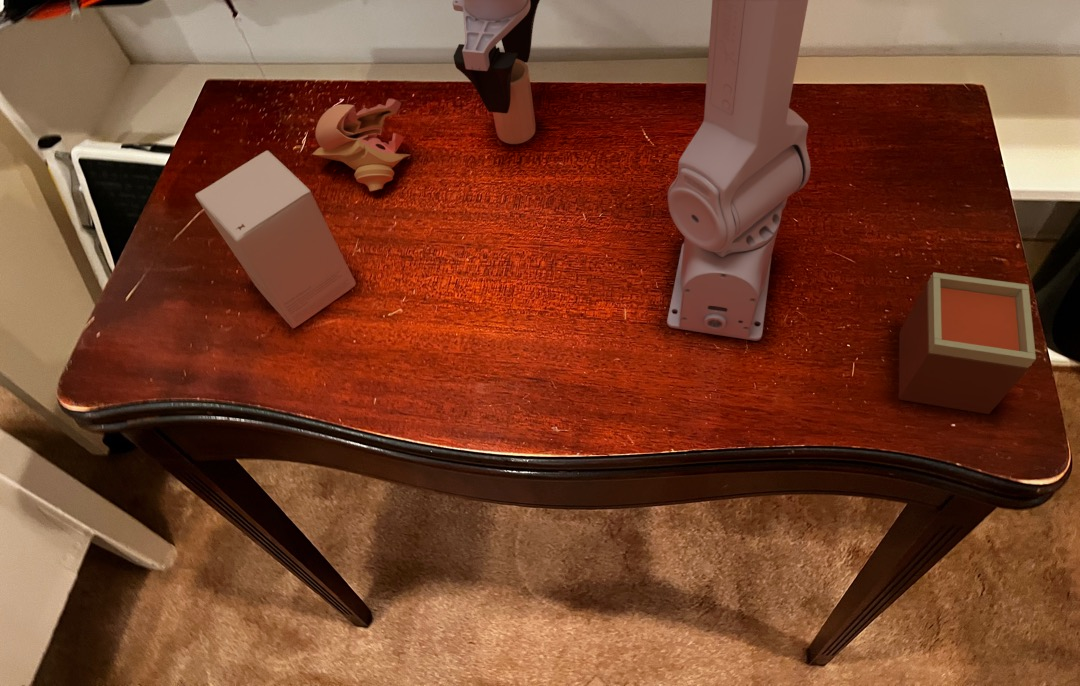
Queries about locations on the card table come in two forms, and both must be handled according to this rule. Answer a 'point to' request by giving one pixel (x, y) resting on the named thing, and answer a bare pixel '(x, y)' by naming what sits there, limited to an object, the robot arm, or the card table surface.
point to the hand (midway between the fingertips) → (508, 84)
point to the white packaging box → (278, 237)
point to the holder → (965, 343)
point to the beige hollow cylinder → (517, 109)
